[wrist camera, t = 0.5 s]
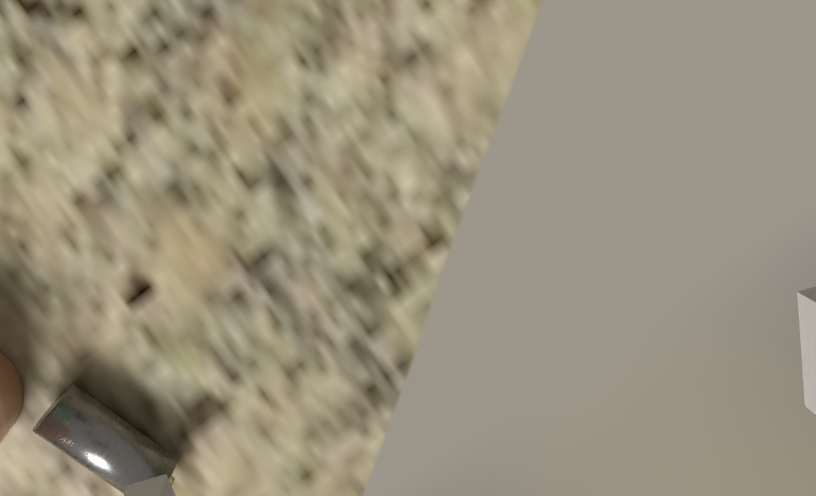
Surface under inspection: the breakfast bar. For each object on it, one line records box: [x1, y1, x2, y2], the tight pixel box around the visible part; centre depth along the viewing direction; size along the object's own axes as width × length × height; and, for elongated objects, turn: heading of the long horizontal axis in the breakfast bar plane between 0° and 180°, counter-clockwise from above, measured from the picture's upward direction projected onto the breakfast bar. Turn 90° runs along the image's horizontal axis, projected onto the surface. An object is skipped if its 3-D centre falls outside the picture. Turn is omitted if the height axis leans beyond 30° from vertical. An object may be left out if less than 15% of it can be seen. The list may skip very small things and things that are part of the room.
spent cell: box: [33, 384, 177, 494], centre depth 40 cm, size 8×3×3 cm, turn 44°
